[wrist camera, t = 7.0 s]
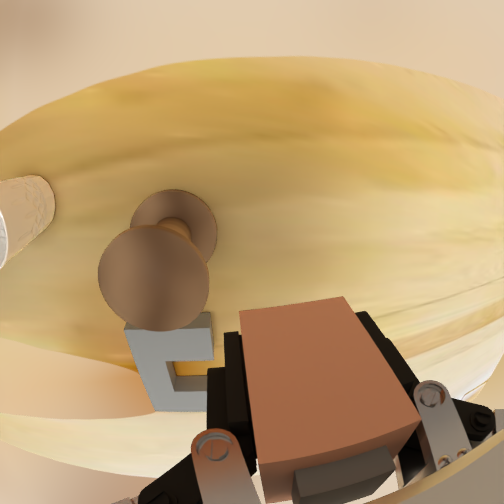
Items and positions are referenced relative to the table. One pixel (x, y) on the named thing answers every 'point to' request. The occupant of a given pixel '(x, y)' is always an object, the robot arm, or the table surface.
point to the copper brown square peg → (321, 403)
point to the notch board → (161, 367)
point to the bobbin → (160, 263)
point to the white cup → (23, 213)
